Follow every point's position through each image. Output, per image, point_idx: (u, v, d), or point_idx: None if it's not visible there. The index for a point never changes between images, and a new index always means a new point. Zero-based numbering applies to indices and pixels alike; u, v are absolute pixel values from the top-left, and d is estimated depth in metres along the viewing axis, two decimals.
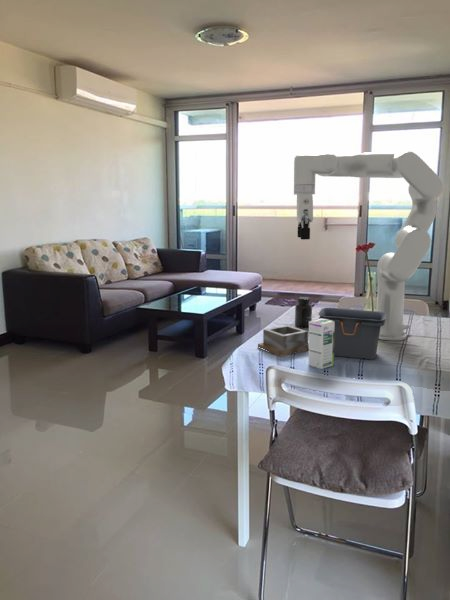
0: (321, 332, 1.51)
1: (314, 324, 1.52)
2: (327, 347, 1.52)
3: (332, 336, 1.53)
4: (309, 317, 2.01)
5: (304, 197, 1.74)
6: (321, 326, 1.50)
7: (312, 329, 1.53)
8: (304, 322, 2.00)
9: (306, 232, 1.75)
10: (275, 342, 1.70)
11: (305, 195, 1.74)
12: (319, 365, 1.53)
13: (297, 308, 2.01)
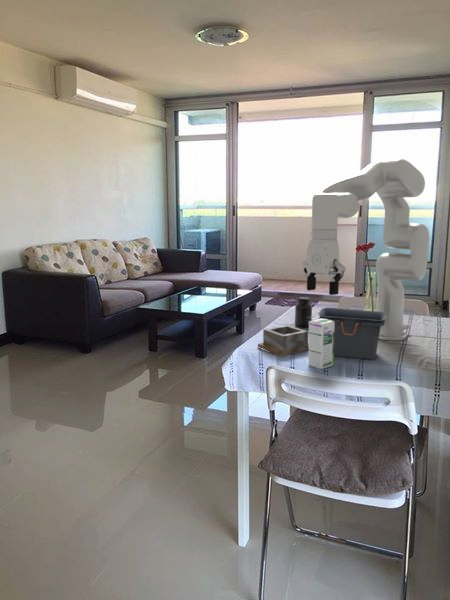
0: (321, 332, 1.51)
1: (314, 324, 1.52)
2: (326, 347, 1.52)
3: (332, 336, 1.53)
4: (309, 317, 2.01)
5: None
6: (321, 326, 1.50)
7: (312, 329, 1.53)
8: (304, 322, 2.00)
9: None
10: (275, 342, 1.70)
11: None
12: (319, 365, 1.53)
13: (297, 308, 2.01)
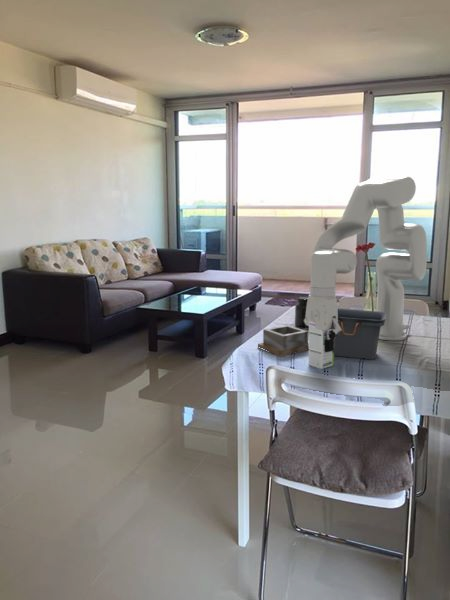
0: (321, 332, 1.51)
1: (314, 324, 1.52)
2: None
3: None
4: None
5: None
6: None
7: (312, 329, 1.53)
8: None
9: None
10: (275, 342, 1.70)
11: None
12: (319, 365, 1.53)
13: (297, 308, 2.01)
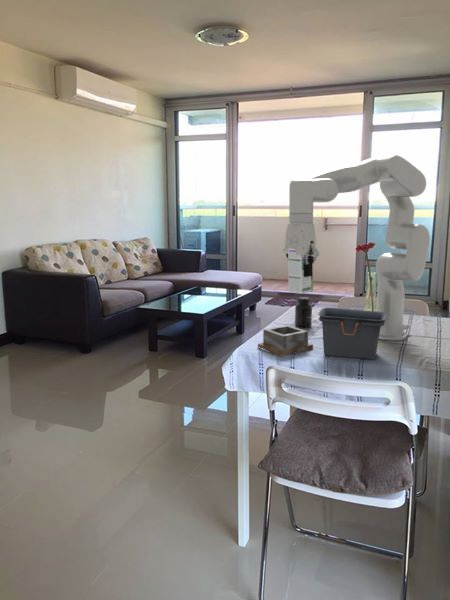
0: (300, 257, 1.57)
1: (293, 250, 1.59)
2: None
3: None
4: (309, 317, 2.01)
5: None
6: None
7: (291, 256, 1.60)
8: (304, 322, 2.00)
9: None
10: (275, 342, 1.70)
11: None
12: (299, 290, 1.60)
13: (297, 308, 2.01)
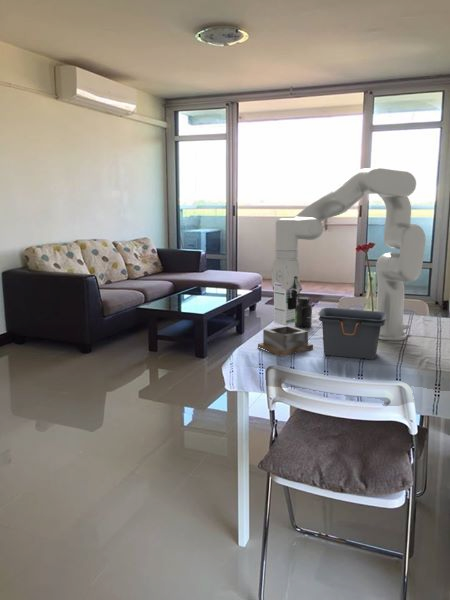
0: (284, 291, 1.67)
1: (278, 284, 1.69)
2: None
3: None
4: (309, 317, 2.01)
5: None
6: None
7: (276, 289, 1.70)
8: (304, 322, 2.00)
9: None
10: (275, 342, 1.70)
11: None
12: (283, 321, 1.69)
13: (297, 308, 2.01)
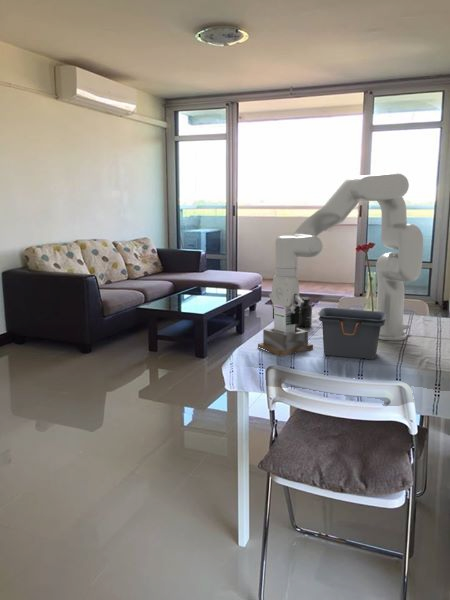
0: (284, 313, 1.69)
1: (278, 306, 1.71)
2: (289, 327, 1.71)
3: None
4: (309, 317, 2.01)
5: None
6: (284, 308, 1.69)
7: (276, 311, 1.72)
8: (304, 322, 2.00)
9: None
10: (275, 342, 1.70)
11: None
12: None
13: None
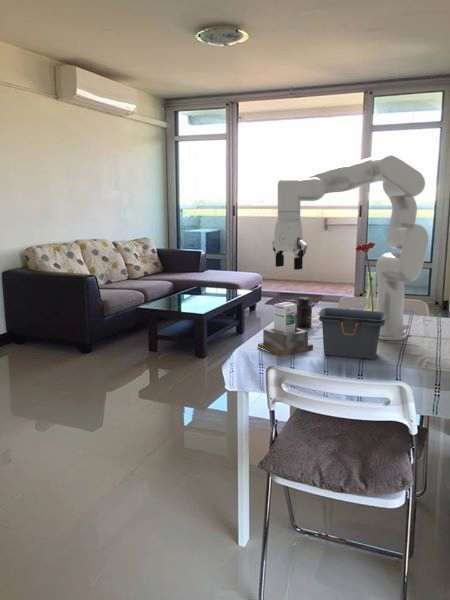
0: (284, 313, 1.69)
1: (278, 306, 1.71)
2: (289, 327, 1.71)
3: (294, 317, 1.72)
4: (309, 317, 2.01)
5: None
6: (284, 308, 1.69)
7: (276, 311, 1.72)
8: (304, 322, 2.00)
9: None
10: (275, 342, 1.70)
11: None
12: None
13: (297, 308, 2.01)
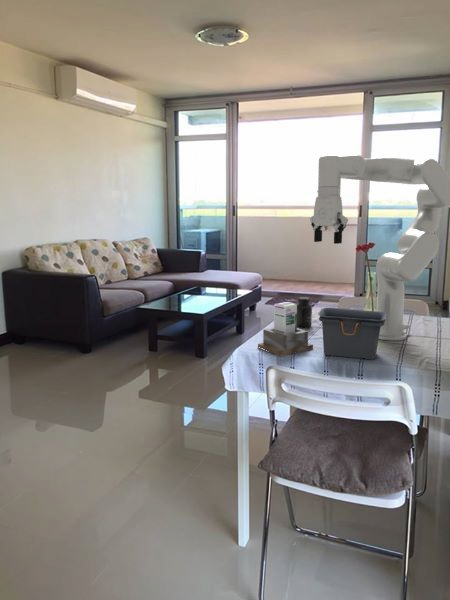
0: (284, 313, 1.69)
1: (278, 306, 1.71)
2: (289, 327, 1.71)
3: (294, 317, 1.72)
4: (309, 317, 2.01)
5: None
6: (284, 308, 1.69)
7: (276, 311, 1.72)
8: (304, 322, 2.00)
9: None
10: (275, 342, 1.70)
11: None
12: None
13: (297, 308, 2.01)
